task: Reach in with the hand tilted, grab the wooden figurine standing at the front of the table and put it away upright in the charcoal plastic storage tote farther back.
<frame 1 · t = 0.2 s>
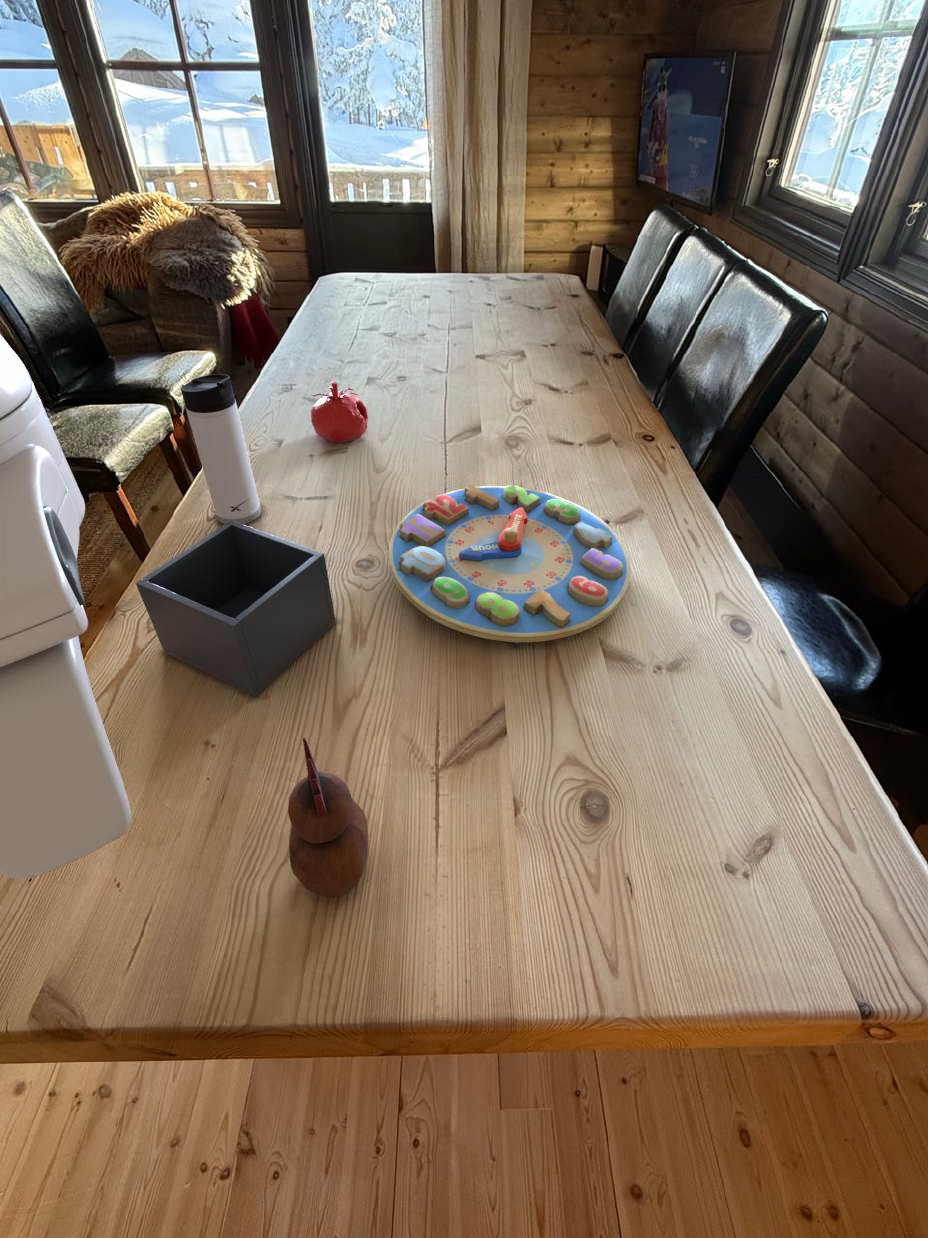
hand: (83, 757, 31), 26 cm above the table, tool pointing down, fingers open, 8 cm apart
tote: (252, 637, 76), on the table
pomegranate: (341, 436, 115), on the table
travel mug: (240, 515, 96), on the table
shape sorting clock: (508, 571, 86), on the table
wooden figurine: (337, 872, 54), on the table
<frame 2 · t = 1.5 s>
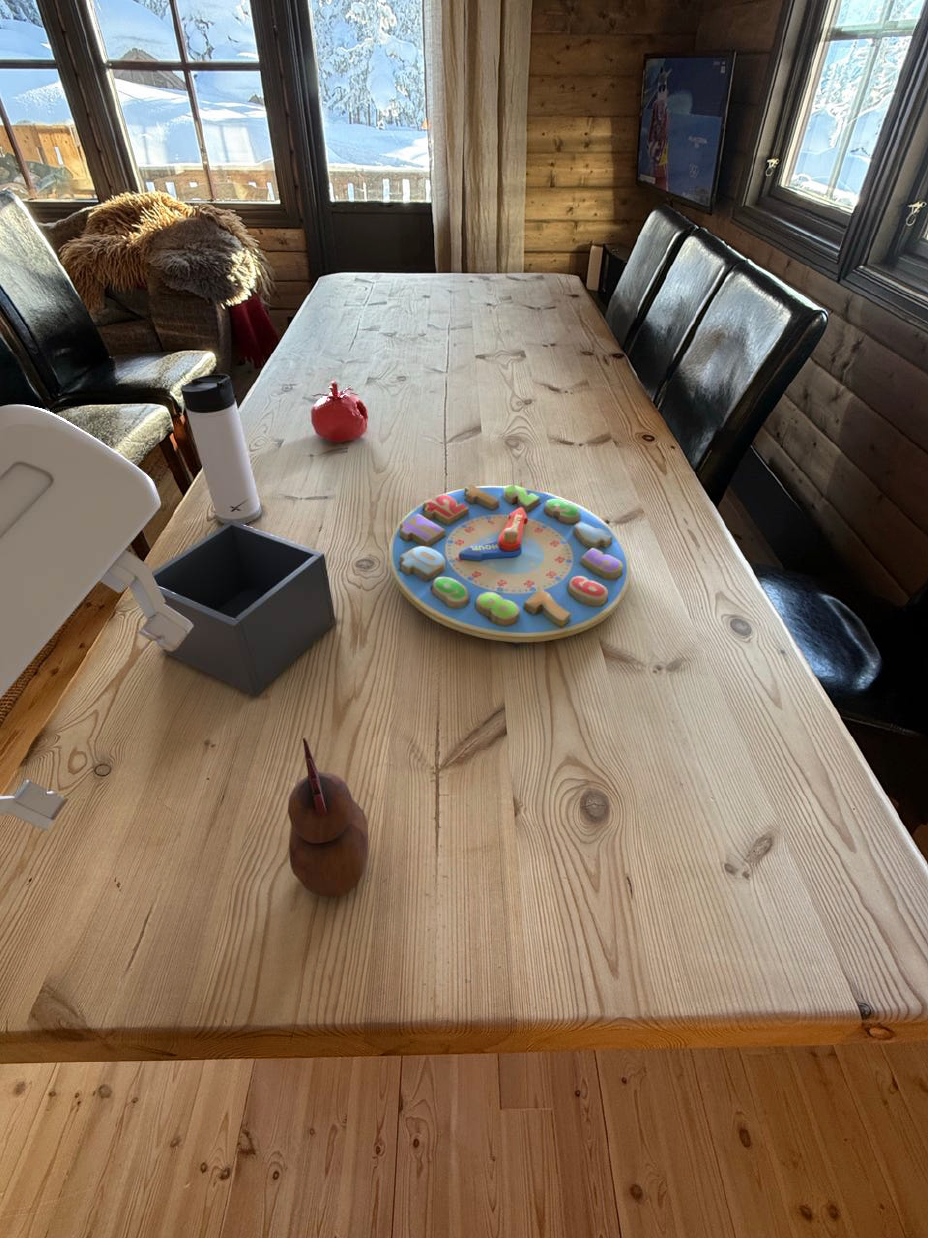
hand: (124, 720, 31), 27 cm above the table, tool tilted 45°, fingers open, 8 cm apart
nothing on the table moved.
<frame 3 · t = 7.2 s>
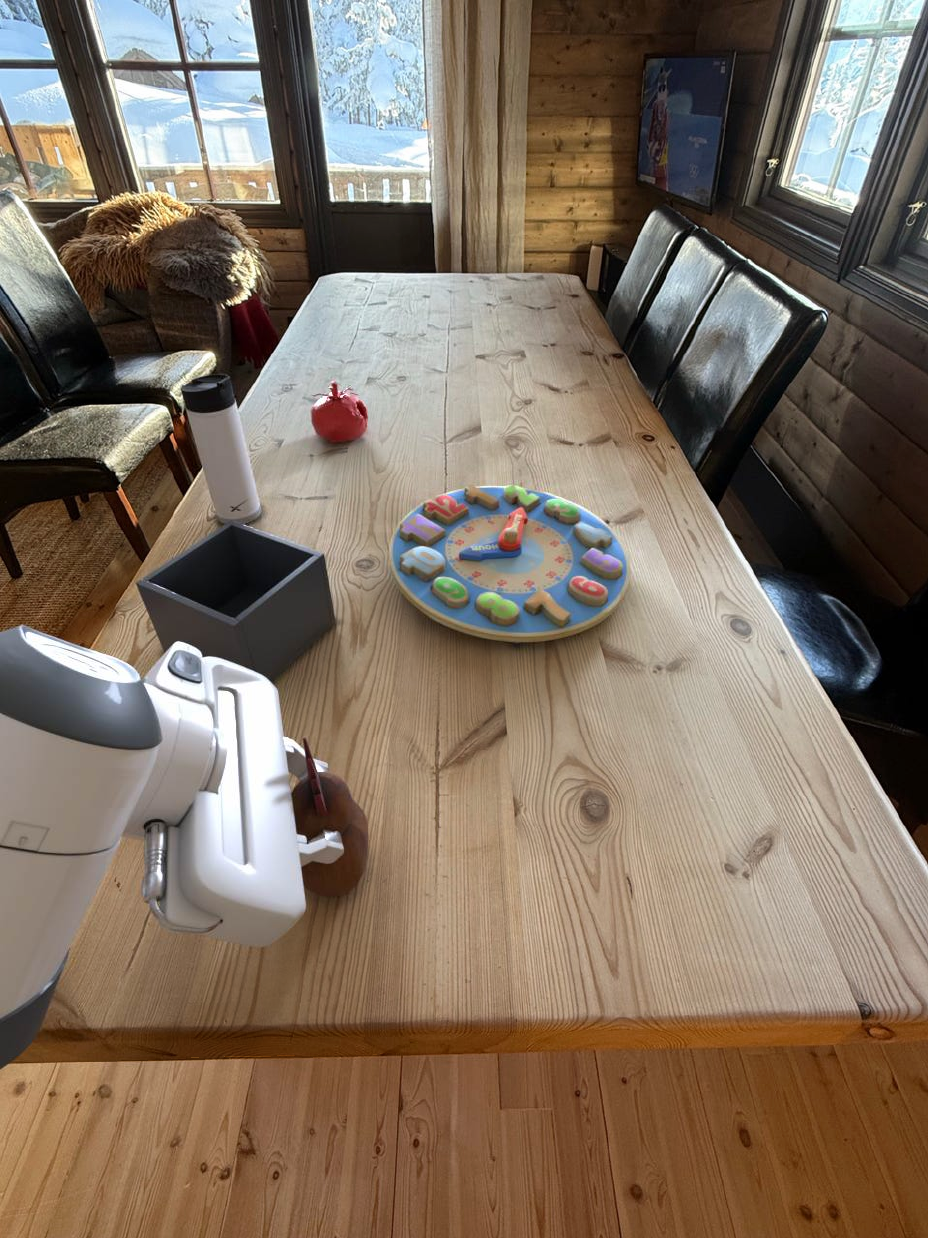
hand: (330, 811, 49), 8 cm above the table, tool tilted 45°, fingers closed on wooden figurine, 5 cm apart
wooden figurine: (337, 871, 54), on the table, touching gripper
everything else where it was.
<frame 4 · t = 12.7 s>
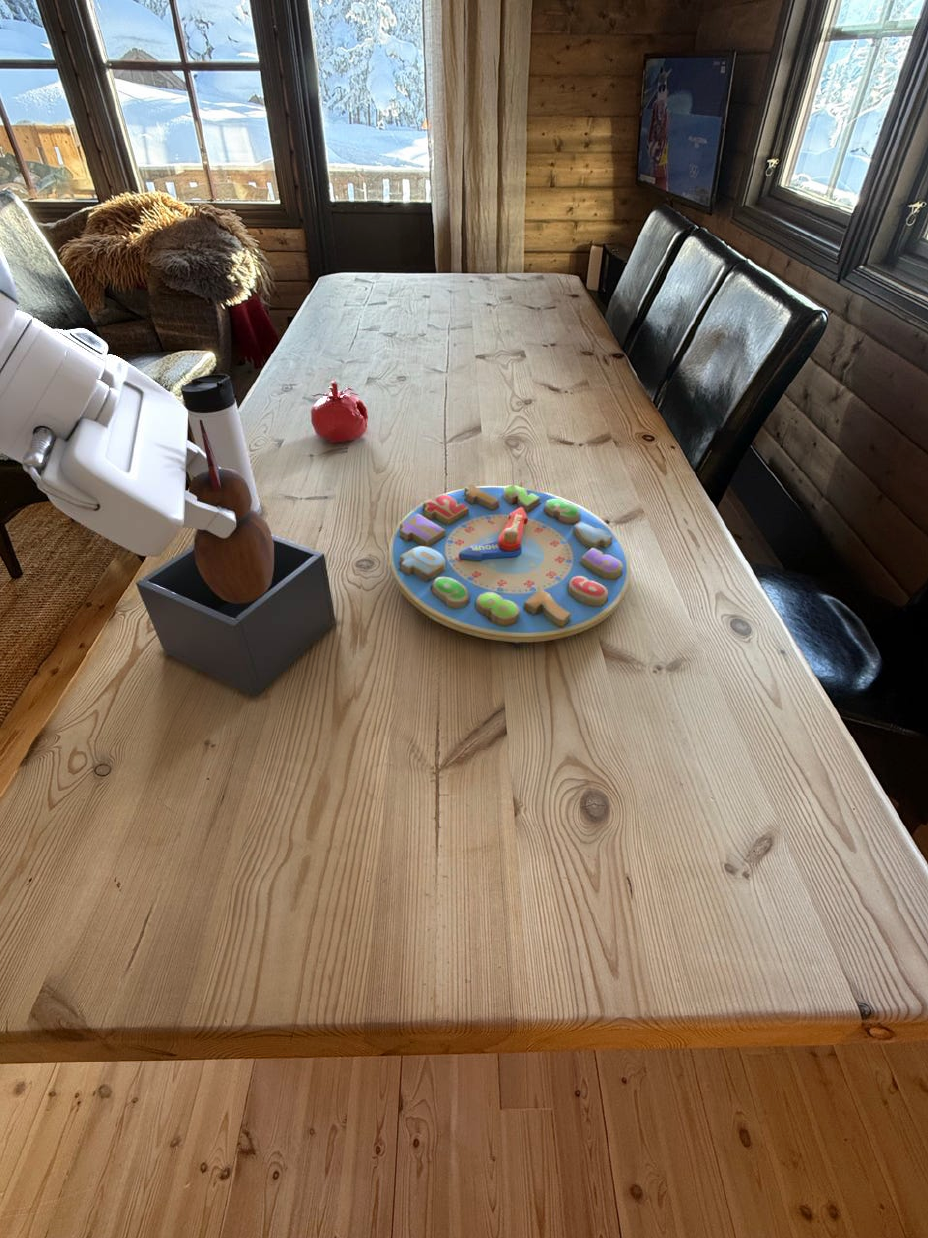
hand: (230, 506, 53), 23 cm above the table, tool tilted 45°, fingers closed on wooden figurine, 5 cm apart
wooden figurine: (246, 591, 58), point 15 cm above the table, touching gripper
everything else where it was.
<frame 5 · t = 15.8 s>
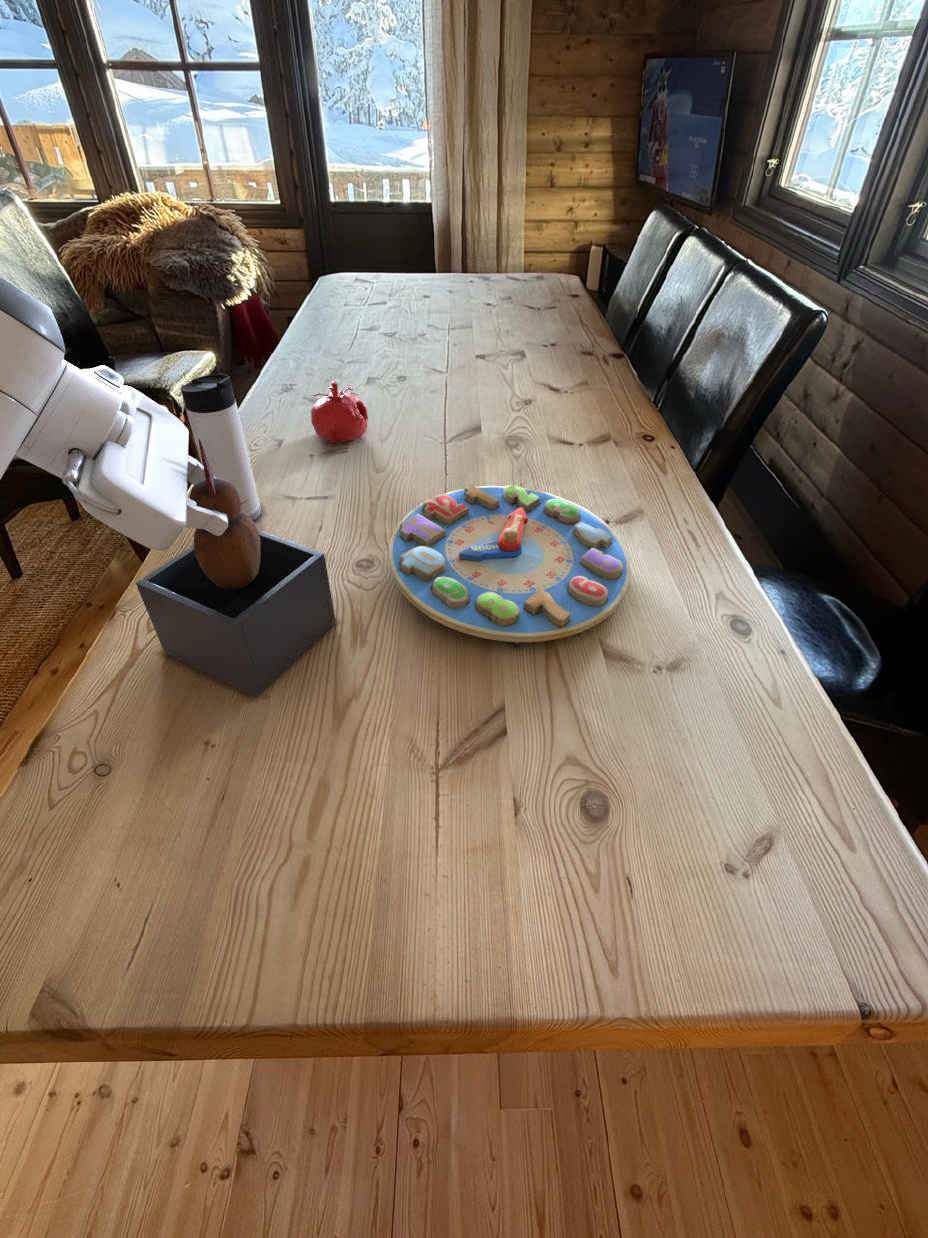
hand: (224, 509, 65), 17 cm above the table, tool tilted 45°, fingers closed on wooden figurine, 5 cm apart
wooden figurine: (237, 580, 70), point 8 cm above the table, touching gripper
everything else where it was.
when the fingers open (9 cm above the table, at t = 18.4 s): wooden figurine stays where it is, resting on tote.
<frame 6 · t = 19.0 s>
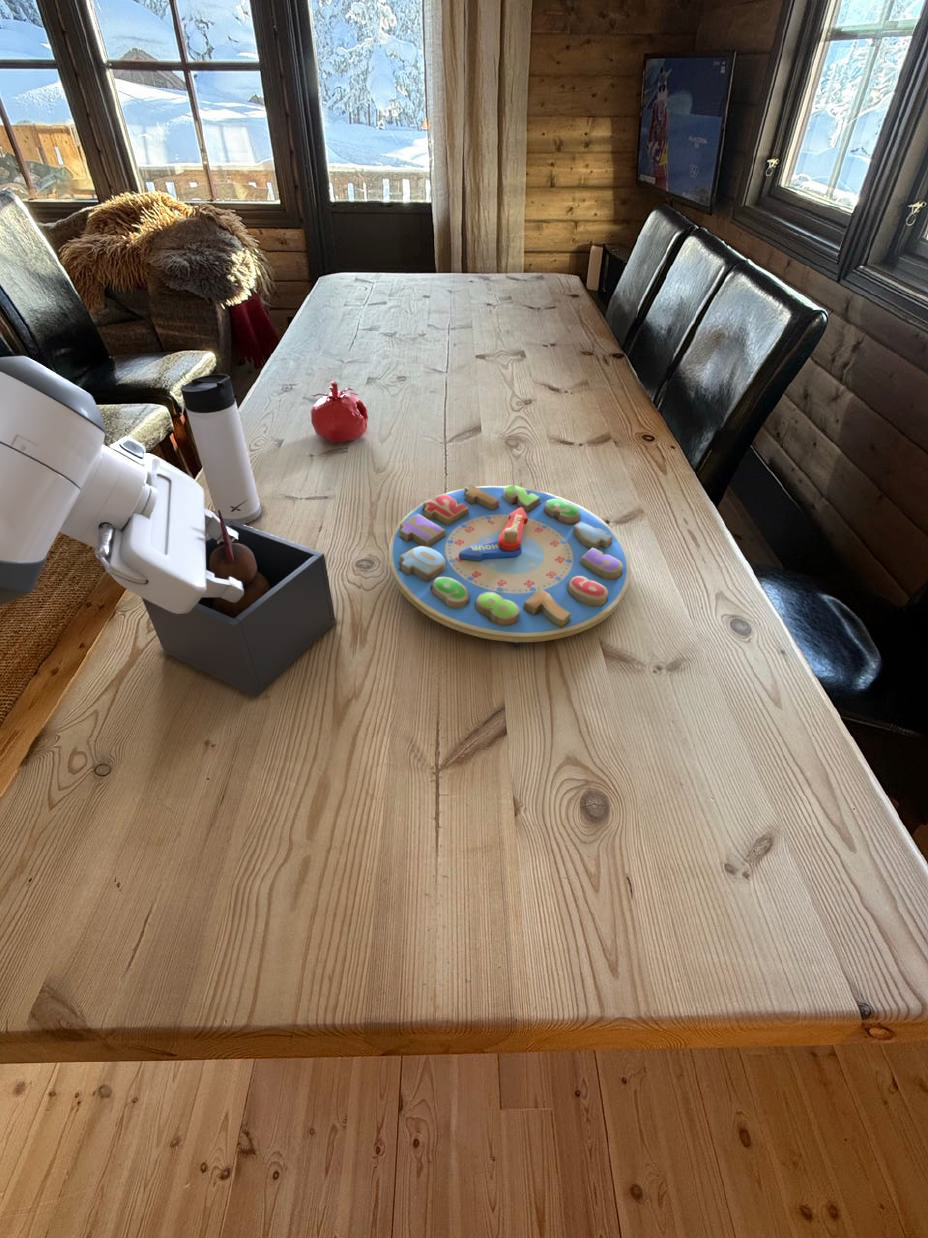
hand: (238, 567, 69), 10 cm above the table, tool tilted 45°, fingers open, 8 cm apart
wooden figurine: (252, 633, 75), point 1 cm above the table, touching tote
everything else where it was.
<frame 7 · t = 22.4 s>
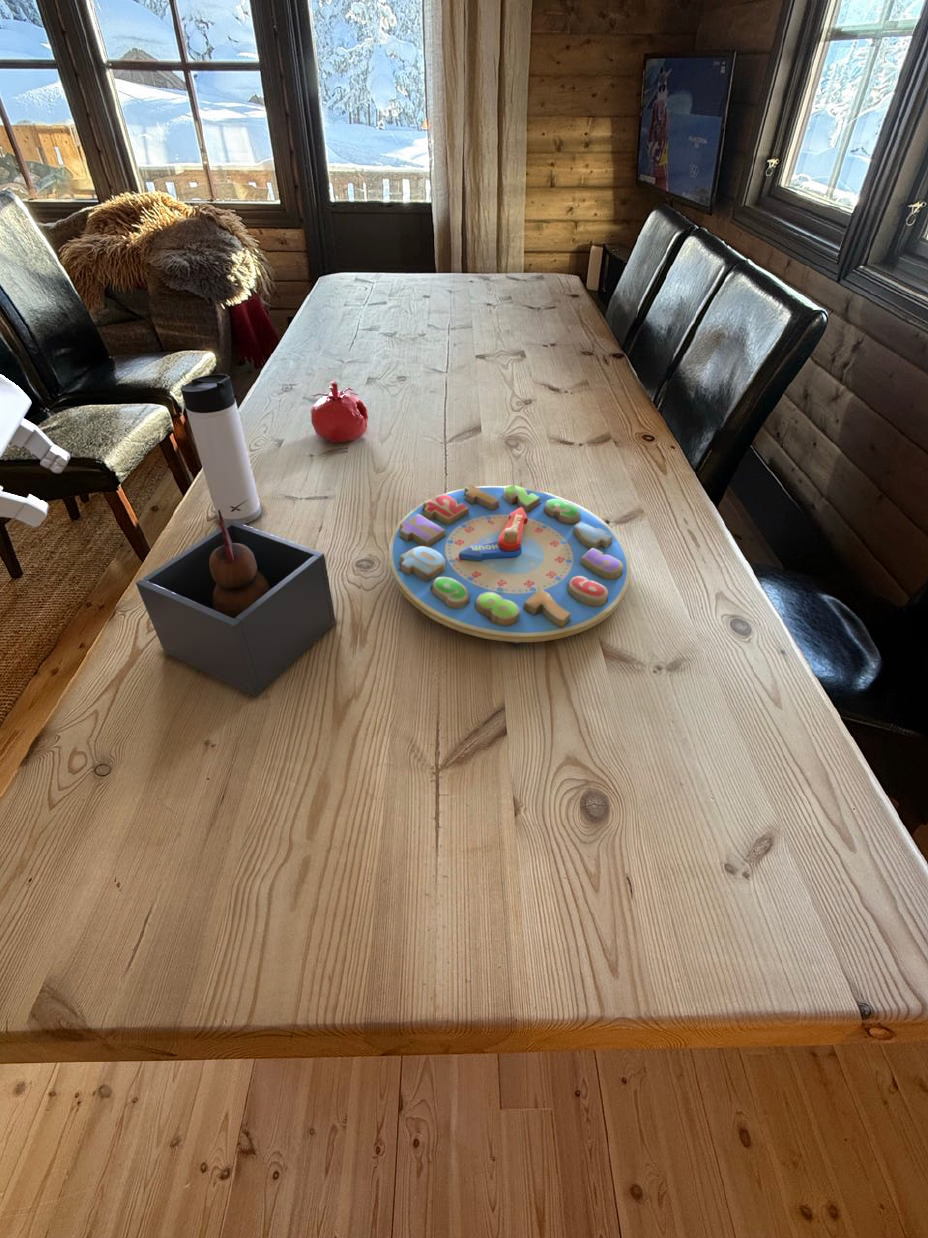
hand: (56, 489, 58), 22 cm above the table, tool tilted 45°, fingers open, 8 cm apart
nothing on the table moved.
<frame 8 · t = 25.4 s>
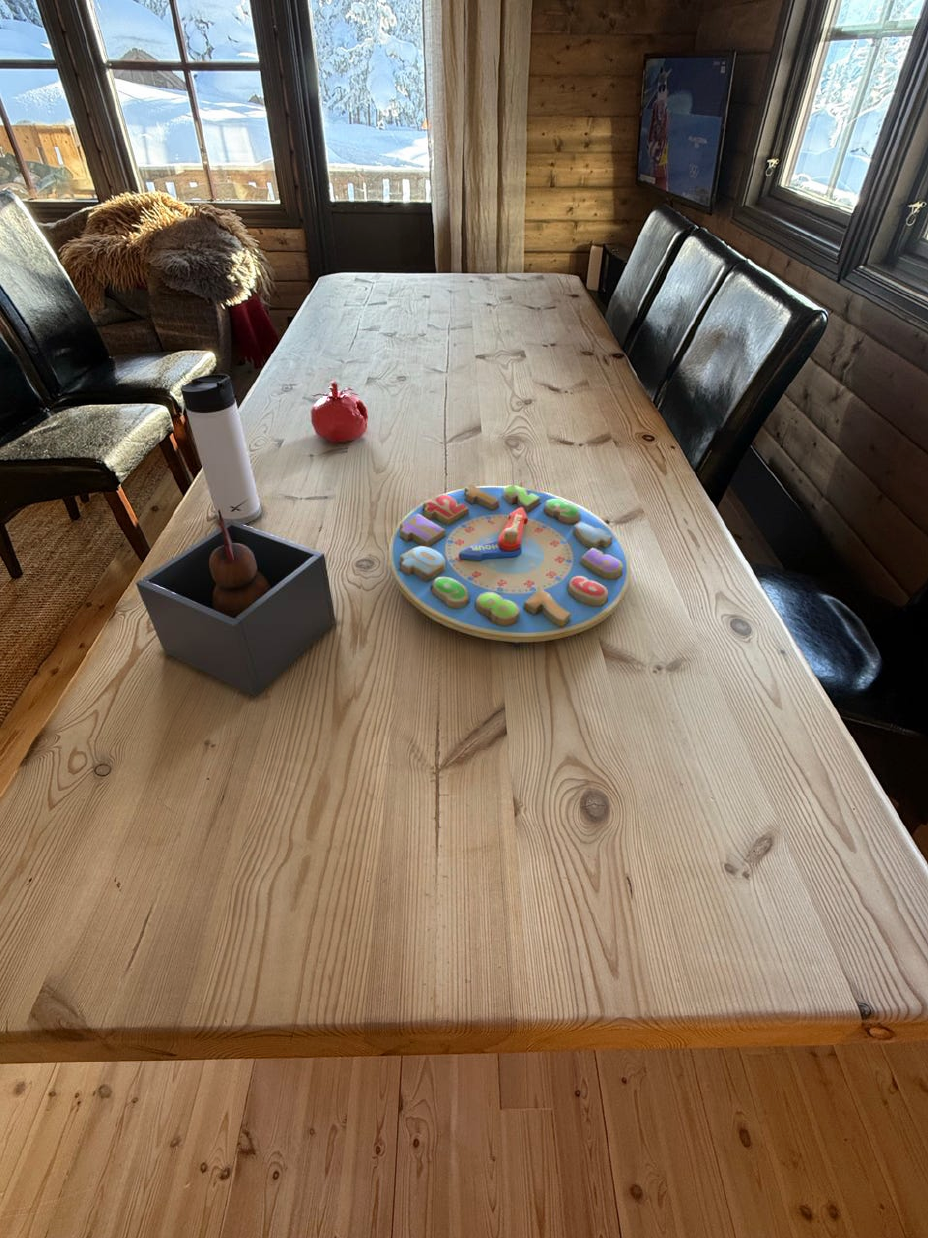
nothing on the table moved.
at the end: wooden figurine inside the target area in the tote (0.2 cm from its centre), point 0.8 cm above the tote's base; wooden figurine tilted 0°; the gripper is holding nothing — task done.
